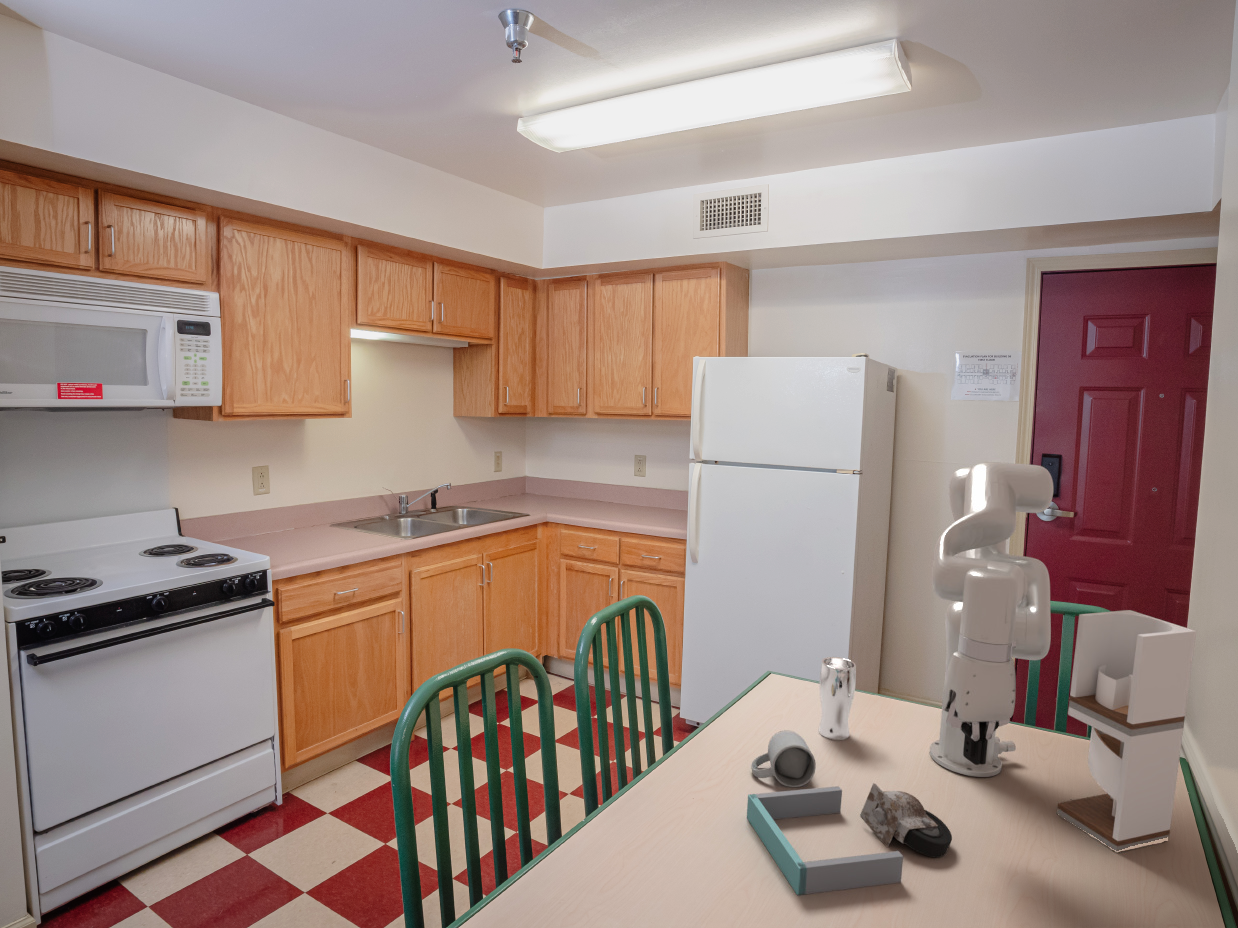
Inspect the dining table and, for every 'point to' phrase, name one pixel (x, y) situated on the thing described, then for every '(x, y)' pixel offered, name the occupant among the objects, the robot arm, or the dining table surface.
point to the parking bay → (818, 872)
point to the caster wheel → (905, 822)
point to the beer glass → (836, 696)
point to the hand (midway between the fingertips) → (974, 760)
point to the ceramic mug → (787, 760)
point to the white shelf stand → (1130, 722)
